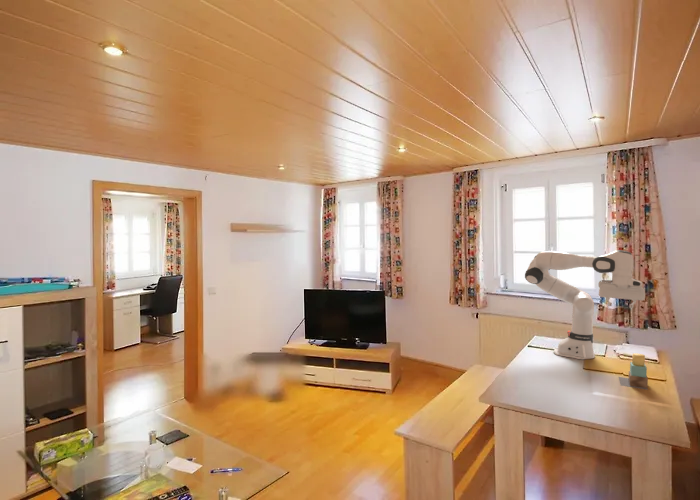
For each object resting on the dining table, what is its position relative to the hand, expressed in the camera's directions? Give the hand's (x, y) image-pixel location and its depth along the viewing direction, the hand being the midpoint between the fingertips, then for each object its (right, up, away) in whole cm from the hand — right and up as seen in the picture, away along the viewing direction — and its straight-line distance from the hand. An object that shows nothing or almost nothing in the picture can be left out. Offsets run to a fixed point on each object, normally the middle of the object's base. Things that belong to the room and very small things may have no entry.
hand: (620, 306), depth 210 cm
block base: (0, -37, -12) cm, 39 cm away
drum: (0, -27, -13) cm, 30 cm away
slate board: (-1, -38, -10) cm, 39 cm away
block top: (0, -32, -12) cm, 34 cm away
